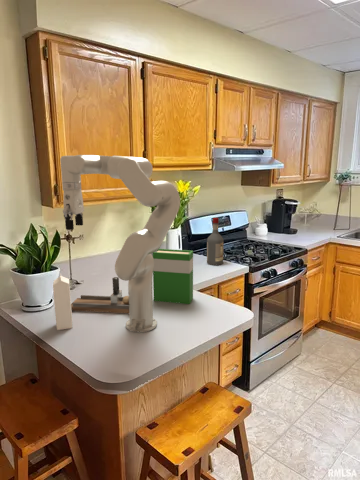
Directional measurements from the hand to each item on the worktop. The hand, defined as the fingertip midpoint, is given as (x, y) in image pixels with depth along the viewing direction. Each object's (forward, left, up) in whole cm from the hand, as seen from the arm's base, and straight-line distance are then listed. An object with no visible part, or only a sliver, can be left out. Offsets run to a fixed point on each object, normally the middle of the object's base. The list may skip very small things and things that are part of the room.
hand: (74, 227), depth 150 cm
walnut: (+6, -20, -34) cm, 40 cm away
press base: (+6, -10, -38) cm, 40 cm away
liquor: (+83, -57, -38) cm, 108 cm away
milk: (-14, +1, -38) cm, 41 cm away
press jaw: (+6, -15, -36) cm, 39 cm away
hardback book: (+19, -39, -39) cm, 58 cm away
